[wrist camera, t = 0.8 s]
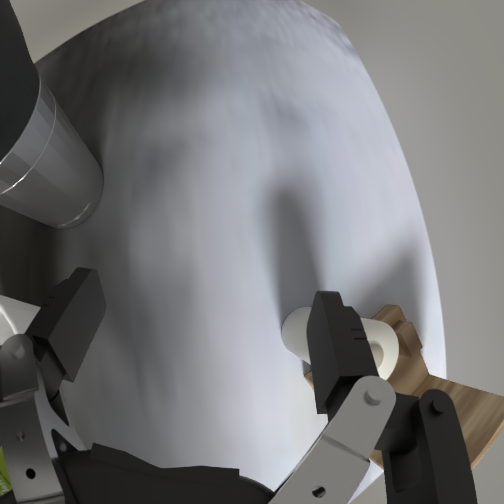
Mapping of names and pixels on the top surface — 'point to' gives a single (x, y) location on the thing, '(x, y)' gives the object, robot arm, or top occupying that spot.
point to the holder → (419, 380)
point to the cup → (15, 317)
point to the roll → (376, 331)
